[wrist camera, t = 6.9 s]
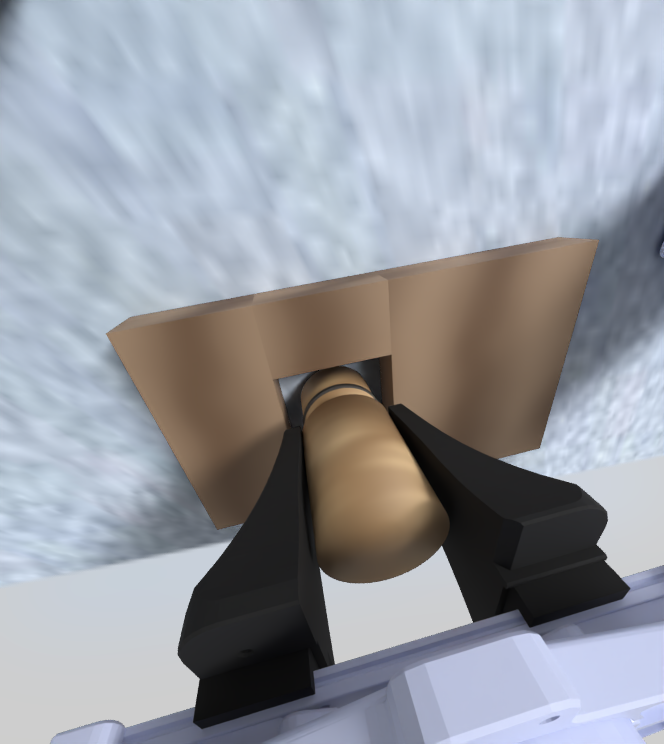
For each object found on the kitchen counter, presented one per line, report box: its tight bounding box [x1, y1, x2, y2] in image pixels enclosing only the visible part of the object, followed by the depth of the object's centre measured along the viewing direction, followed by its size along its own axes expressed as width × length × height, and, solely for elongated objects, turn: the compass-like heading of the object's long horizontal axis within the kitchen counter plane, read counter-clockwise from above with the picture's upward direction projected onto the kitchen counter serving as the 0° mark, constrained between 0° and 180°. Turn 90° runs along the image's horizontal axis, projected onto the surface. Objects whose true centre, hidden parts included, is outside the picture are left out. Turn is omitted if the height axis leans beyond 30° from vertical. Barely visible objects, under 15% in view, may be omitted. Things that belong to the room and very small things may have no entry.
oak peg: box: [301, 366, 450, 583], centre depth 12 cm, size 4×4×8 cm
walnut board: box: [106, 237, 599, 530], centre depth 15 cm, size 20×12×2 cm, turn 99°
